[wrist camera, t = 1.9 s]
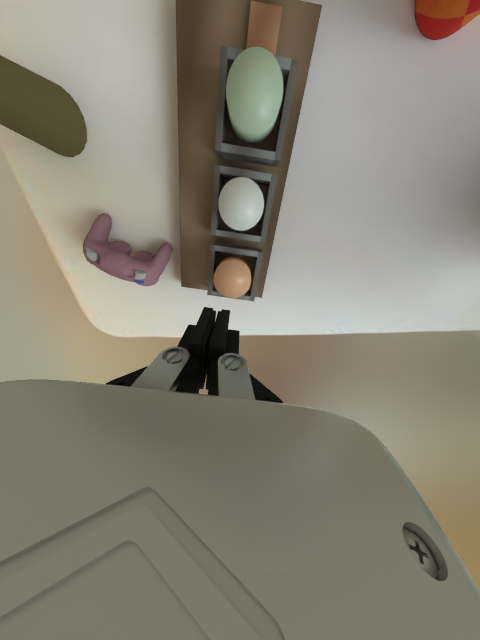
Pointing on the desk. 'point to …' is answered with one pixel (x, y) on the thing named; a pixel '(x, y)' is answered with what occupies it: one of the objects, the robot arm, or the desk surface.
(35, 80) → the olive green skittle
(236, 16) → the board
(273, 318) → the desk surface
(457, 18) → the coffee cup
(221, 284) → the brown egg
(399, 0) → the desk surface
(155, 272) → the video game controller
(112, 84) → the desk surface
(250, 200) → the white egg
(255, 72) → the pale green egg
